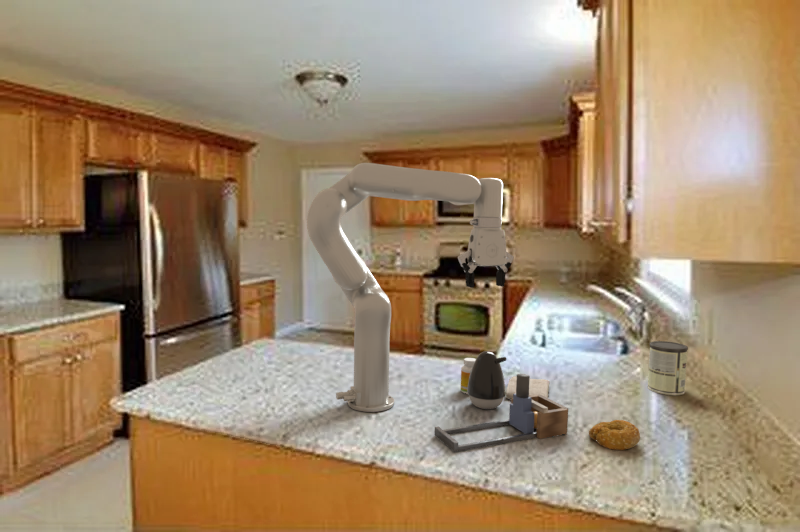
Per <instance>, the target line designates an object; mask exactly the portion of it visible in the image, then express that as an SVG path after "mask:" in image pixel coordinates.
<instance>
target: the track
mask: <svg viewBox="0 0 800 532" xmlns="http://www.w3.org/2000/svg"><path fill="white" fill-rule="evenodd" d="M503 425H504V426H510V425H509V418H508V419H504V420H497V421H489V422H484V423H477V424H472V425H471V424H470V425H464V426H460V427H452V428H446V429H442V427H440V426H434V437H436V438H437V439H438V440H439V441H440V442H442V443H443V444H444V445H445V446H446V447H447V448H449V449H450V450H451V451H452V452H453V453H457V452H463V451H469V450H474V449H480V448H486V447H490V446H496V445H497V446H498V445H502V444H508V443H513V442H519V441H525V440H530V439H531V440H532V439H535V437H536V438H537V431H534V432H531V433H526V434H525V433H521V434H515V435H509V436H505V437H498V438H492V439H486V440H480V441H475V442H469V443H463V444H459V442H458V440H456V439H454V438H453V437H452V436H451V435H453V434H454V435H455V434H459V433H460V434H461V433H467V432H472V431H479V430H485V429H491V428H492V429H493V428H497V426H498V427H503Z"/></svg>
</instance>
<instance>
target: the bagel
mask: <svg viewBox="0 0 800 532" xmlns="http://www.w3.org/2000/svg"><path fill="white" fill-rule="evenodd" d="M588 436H589V437H590V438H591V439H592V440H594V441H596V440H597V441H596V442H597V443H598V445H600V446H602V447H604V448H606V449H609V450H614V451H615V450H618V451H625V450H630V449H632V448H634V447H635V446H636V445H638V444H639V443H640V440H641V433H640V430H639V428H638V427H636V425H635V424H633V423H631V422H629V421H627V420H624V419H615V420H611V421H600V422H599V423H597V424H594V425H593V426H592V428H591V427H590V429H589V430H588Z"/></svg>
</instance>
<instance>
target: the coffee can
mask: <svg viewBox="0 0 800 532" xmlns="http://www.w3.org/2000/svg"><path fill="white" fill-rule="evenodd" d="M688 350H689V347H688V346H687V345H685V344H683V343H678V342H673V341H668V340H667V341H663V340H657V341H656V340H655V341H650V342H649V355H648V356H649V357H648V358H649V360H648V375H647V376H648V377H647V378H648V379H647V389H648V390H650V391H651V392H654V393H657V394H661V395H666V396H681V395H682V396H683V395H684V394H686V377H687V376H686V375H687V359H688Z"/></svg>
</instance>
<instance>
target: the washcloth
mask: <svg viewBox="0 0 800 532" xmlns="http://www.w3.org/2000/svg"><path fill="white" fill-rule="evenodd" d="M516 382H517V375H516V376H515V375H514V376H511V378H510V379H508V384H507V387H506V391H505V399H507V400H510V399H511V398H513V394H514V393H516ZM550 383H551V382H550V380H548V379H542V378H541V379H539V378H531V377H530V380H529V395H537V394H538V395H542V396H544V397H546V398H548V399H549V389H550Z"/></svg>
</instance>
